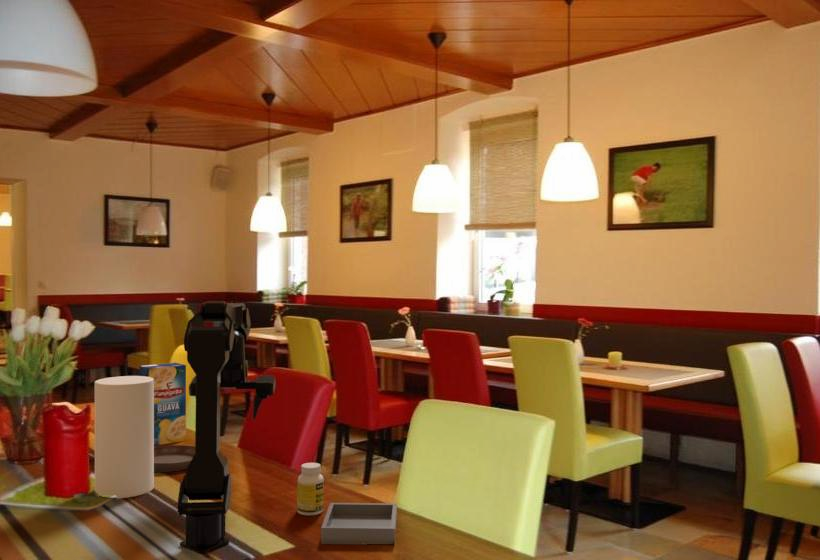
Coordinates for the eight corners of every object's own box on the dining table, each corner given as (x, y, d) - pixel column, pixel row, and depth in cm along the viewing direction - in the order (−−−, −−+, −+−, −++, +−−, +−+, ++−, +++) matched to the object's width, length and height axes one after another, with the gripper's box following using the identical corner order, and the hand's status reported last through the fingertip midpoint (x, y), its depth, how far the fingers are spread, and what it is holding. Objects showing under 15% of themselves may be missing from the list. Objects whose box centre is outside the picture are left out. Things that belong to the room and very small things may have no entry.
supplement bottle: (318, 517, 144) (318, 469, 143) (293, 515, 145) (293, 467, 145) (326, 508, 149) (327, 462, 149) (302, 506, 150) (302, 460, 150)
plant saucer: (203, 453, 193) (203, 441, 192) (209, 470, 176) (209, 458, 176) (133, 459, 186) (133, 447, 186) (133, 478, 170) (133, 465, 170)
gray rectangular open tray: (394, 544, 130) (394, 528, 130) (321, 543, 130) (321, 527, 130) (396, 518, 143) (396, 503, 143) (330, 517, 144) (330, 502, 144)
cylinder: (147, 497, 155) (147, 384, 154) (87, 499, 153) (87, 385, 153) (159, 480, 167) (158, 375, 167) (103, 482, 166) (103, 376, 165)
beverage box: (139, 442, 202) (139, 365, 202) (175, 436, 210) (175, 362, 209) (149, 446, 197) (149, 368, 197) (186, 440, 205) (186, 365, 204)
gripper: (277, 343, 168) (278, 403, 172) (197, 343, 166) (200, 404, 170) (272, 361, 157) (273, 425, 161) (186, 361, 156) (190, 425, 160)
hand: (234, 419), depth 163 cm, fingers open, 9 cm apart
